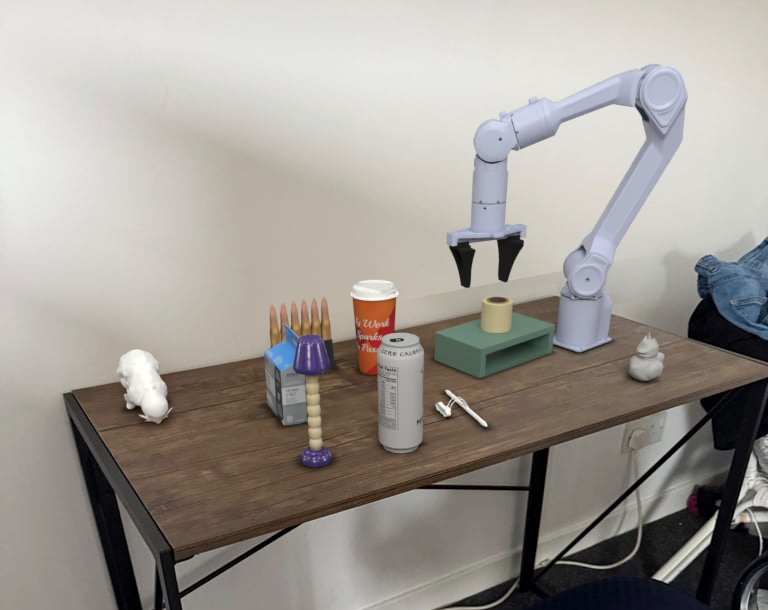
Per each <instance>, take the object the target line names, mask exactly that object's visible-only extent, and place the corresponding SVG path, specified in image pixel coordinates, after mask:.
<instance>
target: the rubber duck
mask: <svg viewBox="0 0 768 610" xmlns="http://www.w3.org/2000/svg"><path fill="white" fill-rule="evenodd" d="M659 349H660V344H659V343H658V341H657V339H656V338H655V337H653V338H652V336H651V332H650V331H648V334H646V335H645V336H644V337H643V338H642V340H641V341H640V342H639V343H638V344H637V347H636V355H633V356H632V357H631V358H630V360H629V361H628V374H629V376H630V377H632V378H633V379H634V380H637V381H639V382H649V381H652V380H655V379H657V378H659V377H661V375H662V374H663V371H664V364H663V362H664V360H665V357H666V356H665V354H664V352H661V351H659Z"/></svg>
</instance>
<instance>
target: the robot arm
mask: <svg viewBox="0 0 768 610" xmlns="http://www.w3.org/2000/svg"><path fill="white" fill-rule="evenodd" d="M688 99H689V93H688V91H687V87H686V84H685V80H684V78H683V75H682V74H681V72H680V71H679V70H678V69H677V68H676V67H673V66H671V65H661V64H659V63H650V64H649V63H648V64H646V65H644V66H642V67H641V68H634V69H629V70H626V71H623V72H620V73H617V74H614V75H612V76H610V77H607V78H605V79H603V80H601V81H598V82H596V83H594V84H592V85H590V86H587V87H586V88H584V89H581V90H579V91H578V92H575V93H572V94H571V95H569V96H566V97H564V98H562V99H560V100H558V101H553V100H551V99H549V98H548V97H544V96H543V97H541V98H540V99H538V97H537V96H533V97H531V98H528V104H525V105H523V106H520V107H518V108H516V109H514V110H512V111H509V112H507V113H506V110H502V111H501V112H499V113H498V115H499V119H496V118H491V119H486V120H484V121H483V122H481V123H480V125H479V126H478V127H477V129H476V130H475V134H474V137H473V141H472V142H473V146H474V150H475V157H474V159H473V167H474V169H473V170H472V183H471V184H472V185H471V186H472V187H471V209H470V227H465V228H462V229H457V230H453V231H446V245H447V246H448V248H449V250H450V253H451V255H452V257H453V259H454V261H455V265H456V269H457V271H458V277H459V281H460V282H459V283H460V287H463V288H465V289H470V288H471V285H472V284H471V283H472V270H473V269H472V268H473V264H474V263H473V262H474V258H475V254H476V251H477V250H476V249H475V248H473V247H472V245H470V244H474V243H475V244H476V243H481V242H482V243H483V242H490V241H496V244H497V253H498V266H497V278H498V281H501V282H503V283H508V282H509V278H510V275H511V272H512V269H513V266H514V264H515V261H516V259H517V258H518V256H519V254H520V252H521V251H522V249H523V248H524V245H525V240H524V239H522V238H527V229H528V228H527V225H526V224H523V223H509V224H506V213H507V212H506V211H507V198H508V197H507V195H508V181H509V171H508V158H509V157H508V156H509V154H510V153H511V151H515V152H518V151H520V150H524V149H525V148H527V147H529V146H533V145H535V144H537V143H540V142H542V141H545V140H547V139H550V138H552V137H555V136H556V134H557V132H558V131H559V128H560V126H561V125H562V124H563V123H566V122H568V121H571V120H574V119H576V118H579V117H582V116H584V115H587V114H590V113H592V112H595V111H598V110H601V109H603V108H606V107H608V106H613V105H617V106H621V107H622V106H623V107H629V108H635V109H636V111H637V112H638V114H639V116H640V117H641V122H642V125H643V129H644V134H645V141H644V142H643V144H642V146H641V147H640V149H639V150H638V152H637V154H636V156H635V157H634V159H633V161H632V163H631V164H630V166H629V167H628V169H627V170H626V173H625V174H624V175H623V177H622V179H621V181H620V183H619V184H618V185H617V188H616V189H615V191H614V193H613V195H612V196H611V198H610V200H609V201H608V203H607V205H606V206H605V208H604V210H603V211H602V213H601V214H600V216H599V218H598V219H597V221H596V223H595V224H594V226H593V228H592V230H591V231H590V232H589V233H588V234H587V235H586V236H585V237H584V238H583V239H582V240H581V242H580V243H579V245H578V246H577V247H576V248H575V249H574V250H572V251H571V252H570V253H568V254H567V256H566V257H565V259H564V261H563V264H562V271H563V275H564V277H565V278H566V282H565V284H564V285H563V286H562V287H561V289H560V293H559V294H560V295H559V304H558V313H557V314H558V315H557V323H556V332H555V334H554V340H553V346H558V347H560V348H564V349H568V350H570V351H573V352H576V353H583V352H585V351H588V350H590V349H593V348H596V347H599V346H601V345H604V344H607V343H609V342H612V340H613V338H612V337H609V333H610V332H609V331H610V325H611V319H612V312H613V301H612V297H611V295H610V294H609V292H607V291H606V290H605V289H604V288H605V286H606V284H607V279H608V273H609V270H610V268H611V266H612V265H613V263H614V259H615V255H616V251H617V248H618V247H619V245H620V244H621V242H622V240H623V238H624V236H625V235H626V233H627V232H628V230H629V228H630V227H631V225H632V224H633V222H634V220H635V219H636V217H637V215H638V214H639V212H640V211H641V209H642V207H643V206H644V204H645V202H646V201H647V200H648V198H649V196H650V195H651V193H652V191H653V189H654V188H655V186H656V185H657V184H658V181H659V180H660V178H661V177H662V175H663V174H664V172H665V171H666V169H667V167H668V166H669V164H670V162H671V161H672V159H673V157H674V156H675V154H676V152H677V151H678V150H679V148H680V146H681V145H682V142H683V138H684V126H685V113H686V105H687V101H688Z"/></svg>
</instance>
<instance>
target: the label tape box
mask: <svg viewBox="0 0 768 610" xmlns="http://www.w3.org/2000/svg"><path fill="white" fill-rule="evenodd" d="M284 327H285V334H286V339H285V340H284V341H282V342H281V343H279V344H277V345H276V346H274V347H272V348H268V349H267V350H265V351H264V352H263V359H264V360H263V361H264V373H265V386H266V404H267V406H268V407H269V408H270V410H271V411H272V412H273V413H274V414H275V416H276V417H277V418H278V420H279V422H281V424H282V425H283V426H292V425H298V424H299V425H300V424H303V423H308V421H307V420H308V414H307V401H306V395H307V392H306V389H305V385H306V380H305V375H302V374H299V373H297V372H295V371H294V369H293V363H294V358H295V353H296V348H297V345H296V344H295V343H294V342H293V341H292V338H293V337H294V340H295V341H296V343H297V342H298V339H299V337H298V336H297V335H296V334H295V333H294V332H293V331H292V330H291V327H290V326H289V327H290V328H289V327H288V326H287V325H286V324H285V323H284ZM291 337H292V338H291Z"/></svg>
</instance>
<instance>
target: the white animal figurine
mask: <svg viewBox="0 0 768 610" xmlns="http://www.w3.org/2000/svg"><path fill="white" fill-rule="evenodd" d="M160 366H161V364H160V362H159V361H158V360H157V359H156V358H155V357H154V355H153V354H152V353H150V352H148V351H146V350H143V349H137V348H135V349H131V350H130V351H128V352H126V353H124V354H123V355H121V357H120V358H119V363H118V367H117V368H116V375H117V377H118V379H119V382H120V384H121V386H122V387H124V388H125V389H126V393H124V394H123V398H124V400H125V401H126V406H125V407H126V408H127V409H128V410H133V409H135V408H136V407H140V408H141V410H142V413H143V414H138V416H139V417H140V418H142V419H145V422H152V423H155V424H158V425H159V424H161V423H162V422H163V420H164V419H166V418H168V417H169V413H170V412H171V411H172V409H173V407H171V408H169V403H168V400H167V396H168V393H169V392H168V386H167V384H166V382H165V381H163V379H162V377H161V375H160V374H159V372H160V368H161V367H160Z"/></svg>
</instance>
